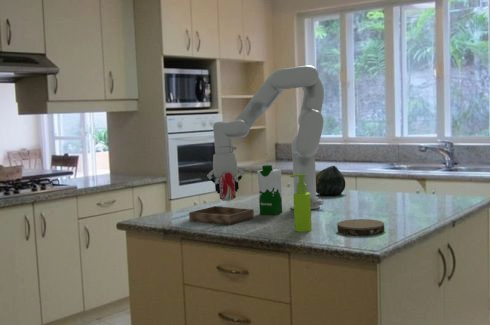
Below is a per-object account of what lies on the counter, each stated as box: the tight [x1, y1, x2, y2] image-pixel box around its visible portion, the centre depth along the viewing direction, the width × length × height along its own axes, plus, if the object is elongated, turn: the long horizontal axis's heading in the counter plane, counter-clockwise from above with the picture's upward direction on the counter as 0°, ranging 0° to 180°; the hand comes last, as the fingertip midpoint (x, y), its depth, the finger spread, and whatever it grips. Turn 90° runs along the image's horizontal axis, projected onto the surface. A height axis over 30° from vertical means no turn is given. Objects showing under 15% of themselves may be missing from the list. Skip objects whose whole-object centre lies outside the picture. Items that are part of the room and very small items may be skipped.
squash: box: [315, 165, 346, 196], centre depth 300 cm, size 14×15×15 cm
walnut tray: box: [188, 205, 255, 226], centre depth 247 cm, size 20×16×4 cm
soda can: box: [218, 172, 237, 202], centre depth 264 cm, size 7×7×12 cm
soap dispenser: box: [289, 174, 312, 233], centre depth 218 cm, size 6×7×20 cm
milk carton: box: [256, 164, 283, 216], centre depth 256 cm, size 9×9×20 cm
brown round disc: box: [336, 218, 385, 237], centre depth 214 cm, size 16×16×3 cm
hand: (227, 191), depth 264 cm, fingers closed on soda can, 7 cm apart
